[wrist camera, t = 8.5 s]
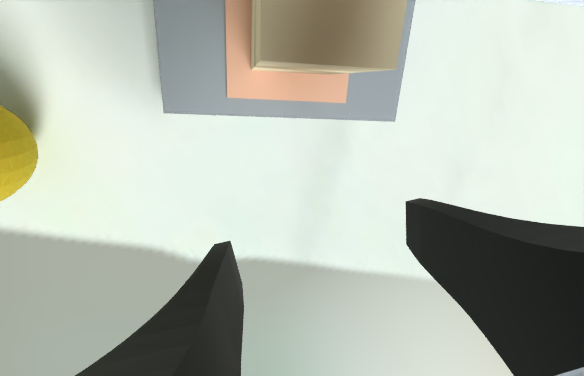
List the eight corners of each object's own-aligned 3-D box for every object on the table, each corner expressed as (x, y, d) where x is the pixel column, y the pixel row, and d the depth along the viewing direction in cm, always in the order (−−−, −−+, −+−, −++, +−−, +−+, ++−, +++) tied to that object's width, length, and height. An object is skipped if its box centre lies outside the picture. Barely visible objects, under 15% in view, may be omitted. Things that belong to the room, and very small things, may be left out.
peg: (335, -15, 15) (423, -104, 8) (327, 74, 17) (396, 69, 9) (251, -24, 15) (262, -133, 7) (251, 70, 16) (260, 60, 9)
